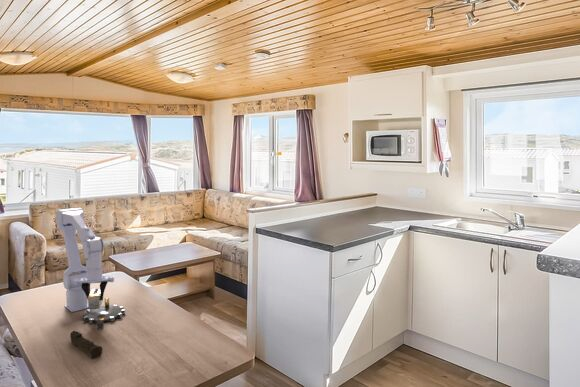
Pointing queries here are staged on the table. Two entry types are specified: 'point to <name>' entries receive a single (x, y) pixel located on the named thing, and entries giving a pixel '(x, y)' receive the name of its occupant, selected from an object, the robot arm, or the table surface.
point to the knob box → (94, 299)
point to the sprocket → (104, 313)
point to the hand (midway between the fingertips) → (95, 300)
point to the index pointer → (100, 324)
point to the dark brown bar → (85, 344)
